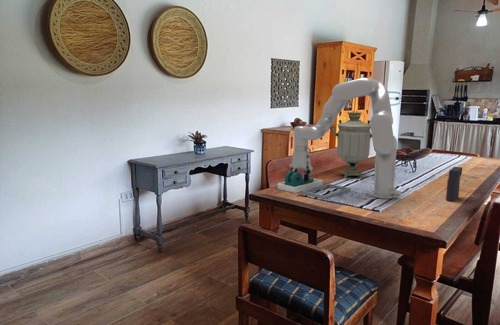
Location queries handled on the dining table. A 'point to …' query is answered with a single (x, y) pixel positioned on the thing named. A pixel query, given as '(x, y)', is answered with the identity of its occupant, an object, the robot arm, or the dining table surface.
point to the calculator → (453, 183)
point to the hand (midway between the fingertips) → (300, 179)
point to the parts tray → (300, 188)
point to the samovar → (353, 142)
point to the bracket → (296, 179)
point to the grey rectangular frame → (343, 190)
